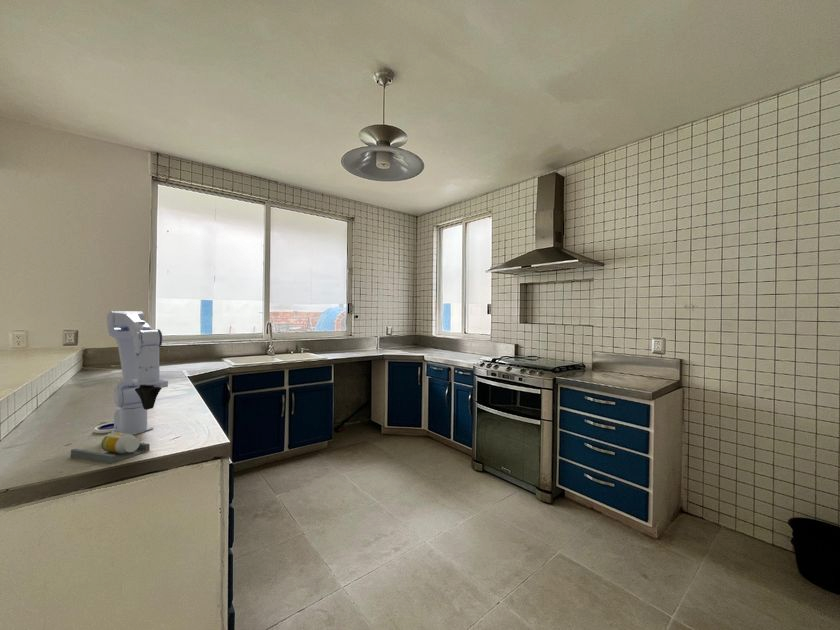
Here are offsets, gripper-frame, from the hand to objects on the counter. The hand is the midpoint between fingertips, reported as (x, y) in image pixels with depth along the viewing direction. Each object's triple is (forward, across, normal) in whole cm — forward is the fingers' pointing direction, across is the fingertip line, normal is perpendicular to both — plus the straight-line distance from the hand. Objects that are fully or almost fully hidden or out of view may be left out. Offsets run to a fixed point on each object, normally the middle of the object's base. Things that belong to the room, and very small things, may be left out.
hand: (148, 408), depth 113 cm
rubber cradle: (+10, 0, -11) cm, 15 cm away
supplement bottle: (+8, -2, -10) cm, 13 cm away
